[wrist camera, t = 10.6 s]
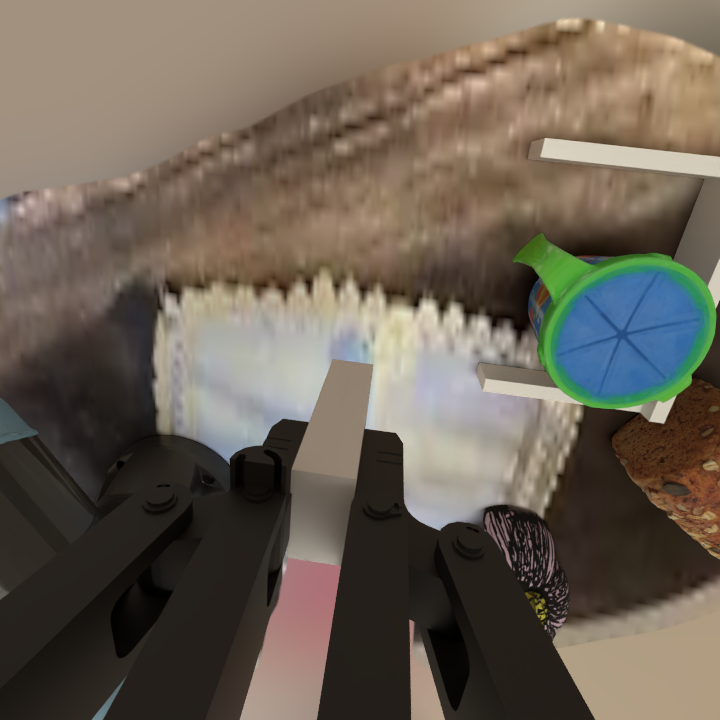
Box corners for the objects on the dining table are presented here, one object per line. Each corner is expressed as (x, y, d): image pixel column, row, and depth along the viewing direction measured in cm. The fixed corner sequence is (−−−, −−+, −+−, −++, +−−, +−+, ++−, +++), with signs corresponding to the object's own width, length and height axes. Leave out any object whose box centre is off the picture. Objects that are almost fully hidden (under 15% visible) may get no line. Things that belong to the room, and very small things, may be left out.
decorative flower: (644, 639, 39) (509, 736, 39) (581, 575, 50) (477, 650, 50) (546, 508, 39) (413, 605, 39) (506, 474, 50) (403, 549, 51)
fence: (476, 374, 41) (485, 399, 36) (531, 141, 33) (552, 135, 28) (633, 395, 40) (663, 423, 35) (728, 163, 32) (782, 160, 28)
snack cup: (676, 326, 37) (768, 376, 28) (567, 395, 41) (616, 460, 31) (576, 182, 34) (643, 183, 24) (466, 271, 37) (487, 302, 28)
